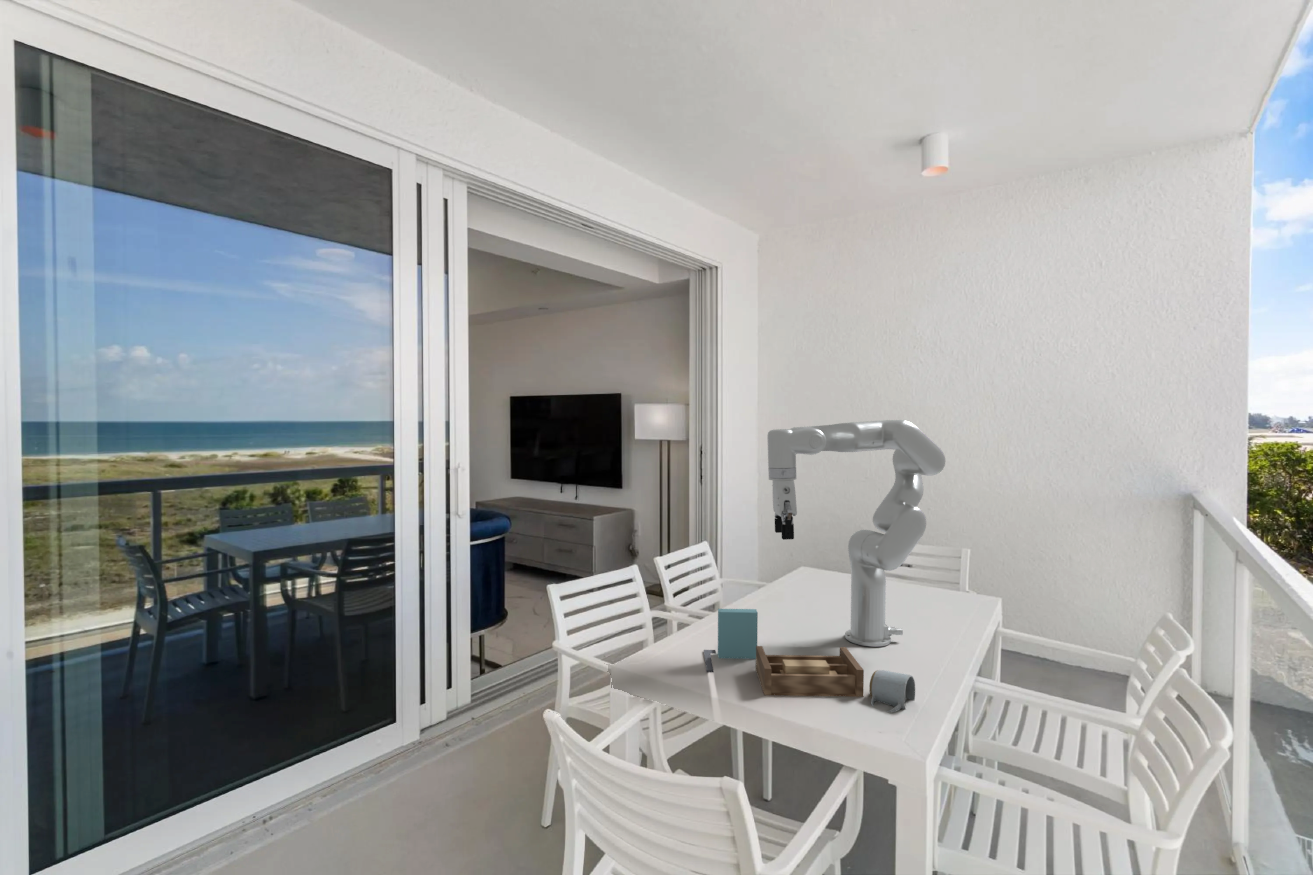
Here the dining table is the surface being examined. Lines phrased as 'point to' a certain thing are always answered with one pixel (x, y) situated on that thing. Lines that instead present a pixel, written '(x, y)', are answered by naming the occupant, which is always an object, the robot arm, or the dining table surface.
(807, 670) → the oak offcuts
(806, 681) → the walnut rack
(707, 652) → the gray l-shaped bracket
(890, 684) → the ceramic mug
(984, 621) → the dining table surface
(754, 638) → the teal rectangular block
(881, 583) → the robot arm
